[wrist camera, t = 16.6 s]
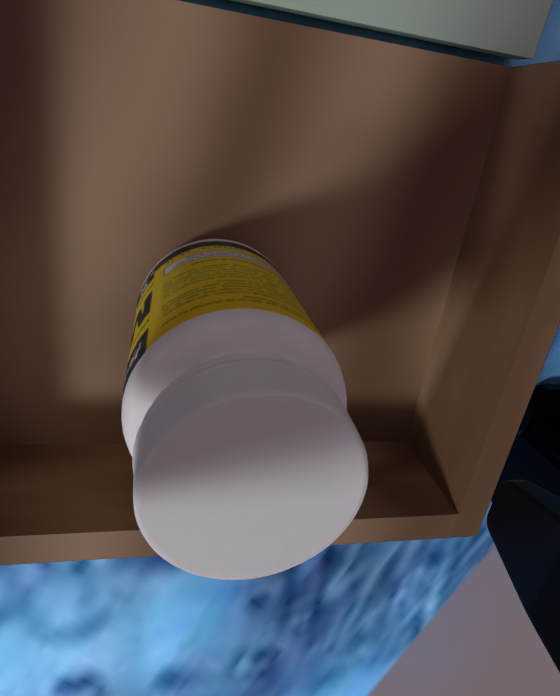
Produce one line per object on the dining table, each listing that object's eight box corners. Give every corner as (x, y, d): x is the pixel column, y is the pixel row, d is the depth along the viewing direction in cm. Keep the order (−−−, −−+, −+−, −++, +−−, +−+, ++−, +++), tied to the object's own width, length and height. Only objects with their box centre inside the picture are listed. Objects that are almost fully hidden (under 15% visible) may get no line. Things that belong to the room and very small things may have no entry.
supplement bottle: (121, 246, 14) (69, 396, 7) (282, 226, 15) (398, 343, 7) (153, 388, 16) (140, 624, 9) (292, 366, 17) (389, 565, 10)
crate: (519, 75, 15) (662, 59, 11) (411, 446, 21) (476, 535, 16) (-167, -60, 11) (-392, -176, 7) (-71, 452, 17) (-157, 575, 12)
